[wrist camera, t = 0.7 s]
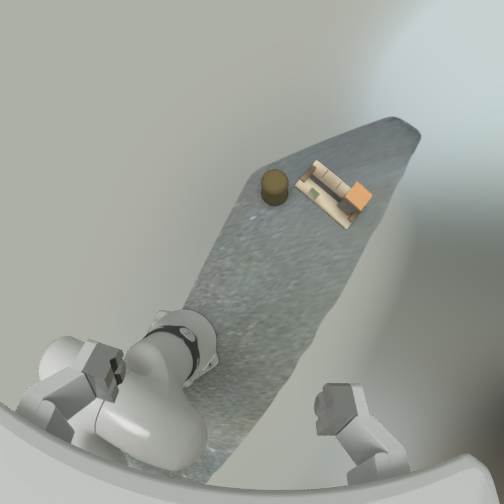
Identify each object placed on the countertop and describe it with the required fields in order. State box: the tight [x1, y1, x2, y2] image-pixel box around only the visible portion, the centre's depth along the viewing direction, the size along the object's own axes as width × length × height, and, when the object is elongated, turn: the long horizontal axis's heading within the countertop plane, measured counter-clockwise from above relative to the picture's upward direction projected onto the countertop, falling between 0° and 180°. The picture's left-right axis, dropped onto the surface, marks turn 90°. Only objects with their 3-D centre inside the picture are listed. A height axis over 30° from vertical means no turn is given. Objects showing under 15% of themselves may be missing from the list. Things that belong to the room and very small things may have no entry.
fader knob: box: [337, 182, 372, 215], centre depth 53 cm, size 4×4×10 cm
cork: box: [261, 169, 288, 206], centre depth 56 cm, size 6×6×11 cm
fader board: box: [295, 160, 363, 230], centre depth 59 cm, size 8×15×2 cm, turn 50°
